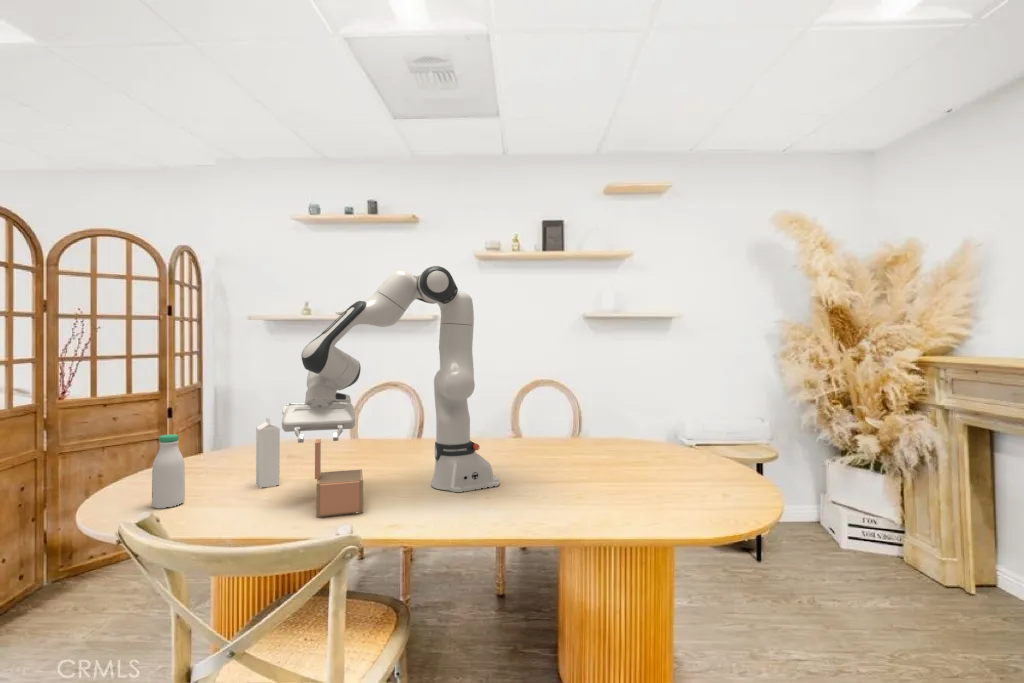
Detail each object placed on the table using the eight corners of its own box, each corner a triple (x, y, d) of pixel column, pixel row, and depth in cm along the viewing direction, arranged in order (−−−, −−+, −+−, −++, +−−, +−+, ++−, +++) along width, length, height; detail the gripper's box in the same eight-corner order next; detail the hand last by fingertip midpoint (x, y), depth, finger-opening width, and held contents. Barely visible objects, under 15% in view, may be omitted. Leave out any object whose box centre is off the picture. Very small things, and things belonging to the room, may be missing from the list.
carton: (361, 499, 147) (362, 469, 147) (363, 513, 135) (363, 480, 135) (318, 503, 143) (318, 472, 143) (315, 518, 131) (316, 484, 131)
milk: (259, 489, 158) (259, 420, 157) (255, 484, 162) (255, 417, 162) (280, 485, 161) (279, 418, 161) (276, 481, 166) (275, 416, 166)
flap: (320, 474, 140) (320, 439, 140) (319, 479, 135) (319, 442, 136) (316, 474, 140) (316, 439, 140) (314, 479, 135) (314, 442, 135)
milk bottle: (191, 502, 144) (191, 433, 144) (164, 510, 137) (165, 438, 137) (172, 499, 147) (172, 432, 147) (145, 507, 139) (145, 436, 140)
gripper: (282, 397, 146) (277, 436, 136) (355, 395, 152) (355, 432, 143) (284, 410, 150) (279, 449, 140) (355, 407, 156) (355, 444, 147)
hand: (318, 440), depth 142 cm, fingers open, 8 cm apart
